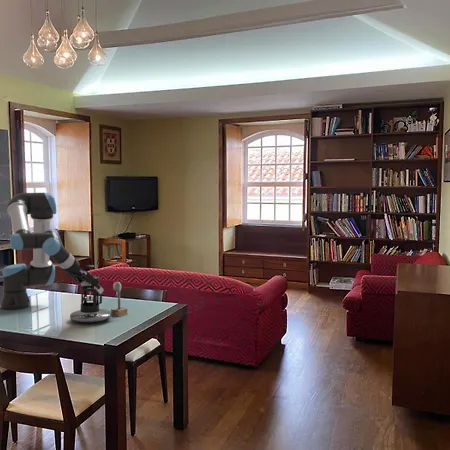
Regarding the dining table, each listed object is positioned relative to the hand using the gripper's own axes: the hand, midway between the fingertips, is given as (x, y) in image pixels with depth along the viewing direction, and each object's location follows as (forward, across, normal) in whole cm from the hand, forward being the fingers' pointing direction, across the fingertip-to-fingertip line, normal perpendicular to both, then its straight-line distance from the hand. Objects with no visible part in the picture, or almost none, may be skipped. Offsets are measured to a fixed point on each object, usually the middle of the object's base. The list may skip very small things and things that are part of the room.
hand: (95, 290), depth 239 cm
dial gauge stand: (+19, +3, -1) cm, 20 cm away
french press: (+5, 0, -9) cm, 10 cm away
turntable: (+7, 0, -11) cm, 13 cm away
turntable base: (+8, 0, -12) cm, 15 cm away
